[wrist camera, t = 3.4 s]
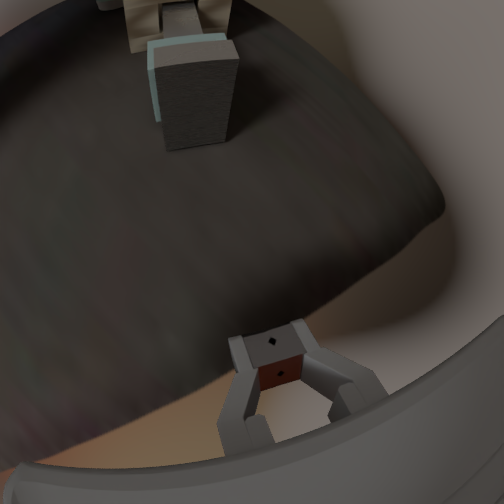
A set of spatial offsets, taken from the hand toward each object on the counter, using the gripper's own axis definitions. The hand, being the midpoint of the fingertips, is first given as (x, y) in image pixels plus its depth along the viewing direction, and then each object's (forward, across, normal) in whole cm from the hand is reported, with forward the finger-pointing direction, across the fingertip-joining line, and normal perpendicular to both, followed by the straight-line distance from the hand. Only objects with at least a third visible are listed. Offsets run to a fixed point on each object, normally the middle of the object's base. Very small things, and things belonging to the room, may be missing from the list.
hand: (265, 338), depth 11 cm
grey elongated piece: (+21, 0, -11) cm, 23 cm away
